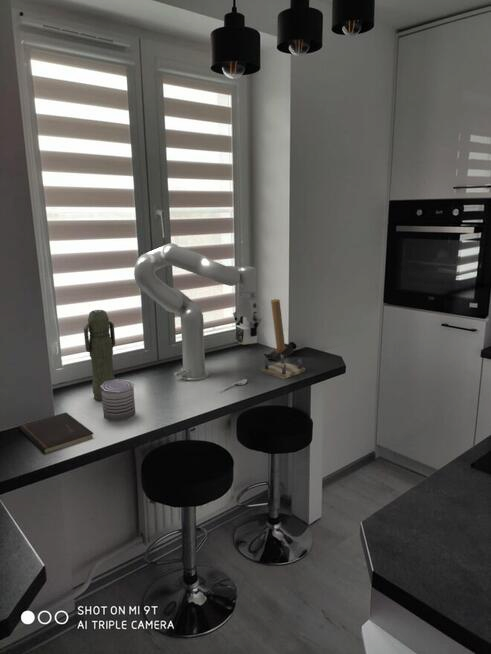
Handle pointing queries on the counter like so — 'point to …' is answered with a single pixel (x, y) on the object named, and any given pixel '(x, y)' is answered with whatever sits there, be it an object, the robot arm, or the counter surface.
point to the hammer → (279, 334)
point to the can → (118, 400)
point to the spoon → (233, 384)
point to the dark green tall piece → (100, 349)
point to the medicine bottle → (244, 332)
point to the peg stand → (283, 368)
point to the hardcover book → (56, 432)
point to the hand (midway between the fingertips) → (246, 334)
